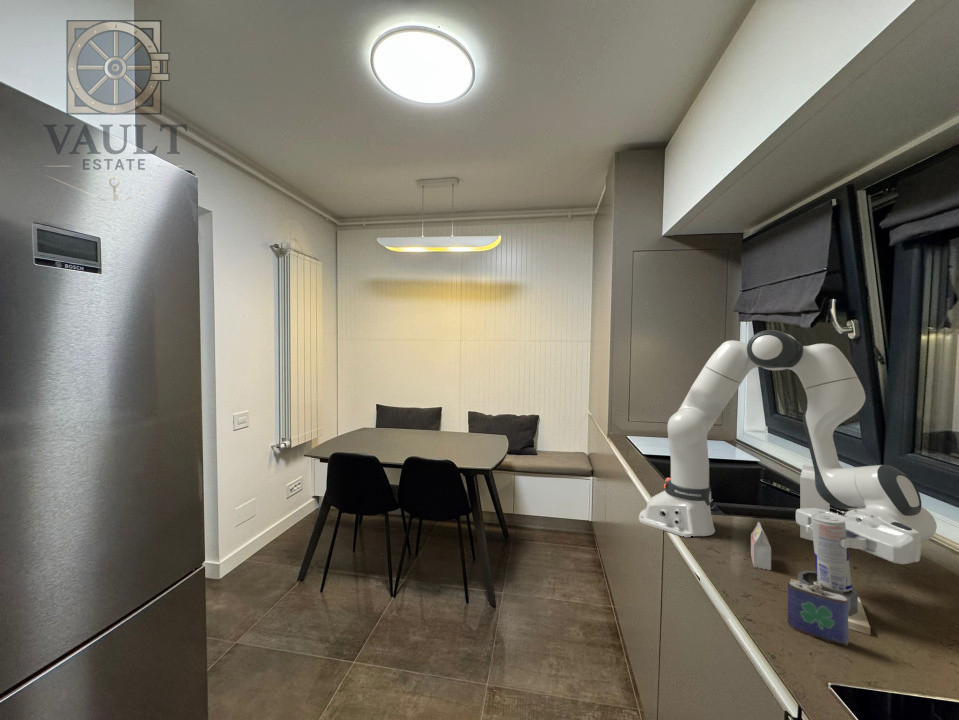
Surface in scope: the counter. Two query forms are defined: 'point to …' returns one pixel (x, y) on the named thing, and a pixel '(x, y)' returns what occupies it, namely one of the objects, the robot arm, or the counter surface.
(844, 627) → the flask
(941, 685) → the counter surface
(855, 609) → the collar stand
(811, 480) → the milk
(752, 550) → the small drink carton
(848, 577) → the beverage can
